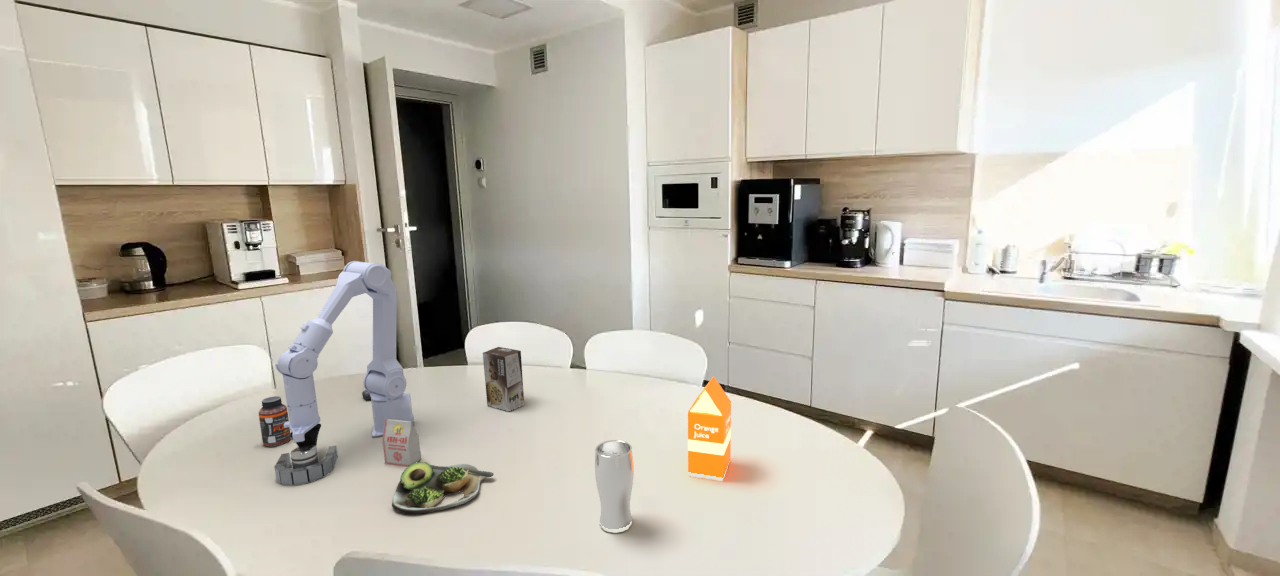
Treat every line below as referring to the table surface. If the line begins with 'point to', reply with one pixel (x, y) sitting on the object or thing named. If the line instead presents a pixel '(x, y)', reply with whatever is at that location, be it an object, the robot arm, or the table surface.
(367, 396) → the can opener
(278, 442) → the supplement bottle
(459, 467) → the avocado toast plate
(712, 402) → the orange juice
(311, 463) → the cylinder
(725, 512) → the table surface
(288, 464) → the split ring collar
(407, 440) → the white paper bag
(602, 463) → the beer glass
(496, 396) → the coffee box
